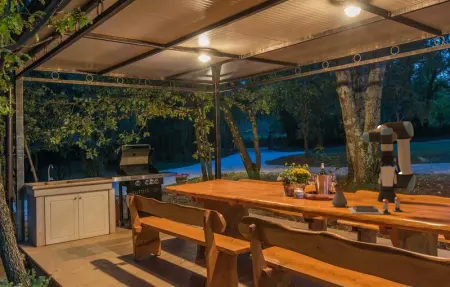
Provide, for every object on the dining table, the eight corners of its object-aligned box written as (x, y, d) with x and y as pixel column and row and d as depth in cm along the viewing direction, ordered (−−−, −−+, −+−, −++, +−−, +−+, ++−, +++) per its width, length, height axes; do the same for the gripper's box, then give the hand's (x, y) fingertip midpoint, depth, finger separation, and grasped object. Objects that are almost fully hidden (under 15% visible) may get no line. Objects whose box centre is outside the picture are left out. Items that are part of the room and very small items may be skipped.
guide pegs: (379, 213, 255) (378, 198, 255) (395, 210, 266) (395, 196, 266) (387, 214, 250) (386, 199, 250) (404, 211, 261) (403, 197, 261)
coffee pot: (342, 208, 279) (342, 187, 279) (328, 206, 287) (328, 186, 287) (356, 204, 294) (356, 185, 294) (342, 203, 302) (342, 184, 302)
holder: (348, 208, 275) (348, 204, 275) (377, 209, 271) (377, 205, 271) (352, 214, 255) (352, 209, 255) (383, 214, 251) (383, 210, 251)
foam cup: (378, 186, 254) (378, 166, 254) (381, 184, 262) (381, 166, 262) (393, 186, 249) (393, 167, 249) (396, 185, 256) (395, 166, 256)
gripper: (370, 150, 254) (371, 183, 253) (405, 150, 250) (406, 184, 249) (368, 150, 261) (369, 182, 261) (402, 150, 257) (403, 183, 257)
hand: (387, 183), depth 255 cm, fingers closed on foam cup, 9 cm apart
